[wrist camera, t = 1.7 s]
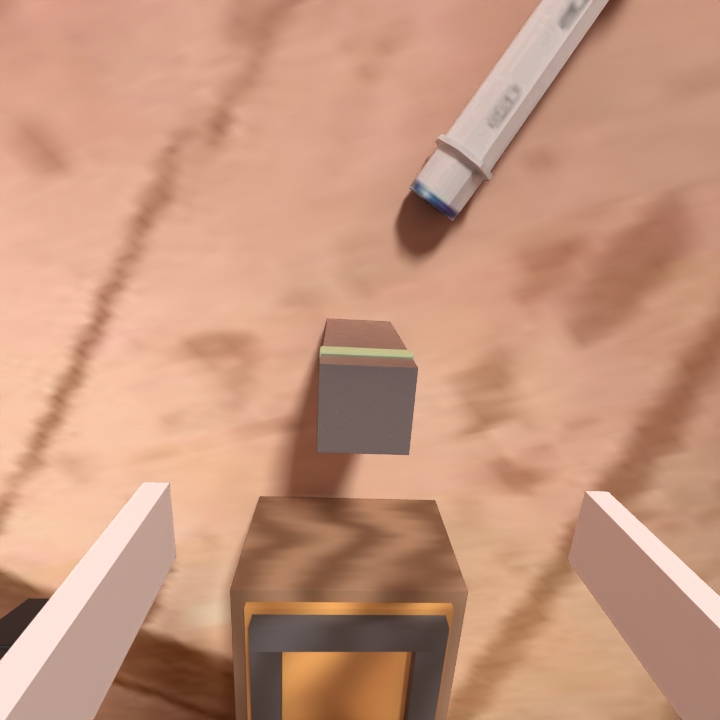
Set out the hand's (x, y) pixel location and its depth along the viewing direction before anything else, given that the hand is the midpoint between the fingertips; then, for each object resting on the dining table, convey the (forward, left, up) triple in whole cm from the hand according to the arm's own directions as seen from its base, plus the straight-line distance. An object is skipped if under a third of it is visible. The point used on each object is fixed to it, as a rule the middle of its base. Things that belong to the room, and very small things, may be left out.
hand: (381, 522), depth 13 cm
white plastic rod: (-11, -22, -21) cm, 32 cm away
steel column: (0, 0, -21) cm, 21 cm away
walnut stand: (0, +22, -21) cm, 30 cm away
